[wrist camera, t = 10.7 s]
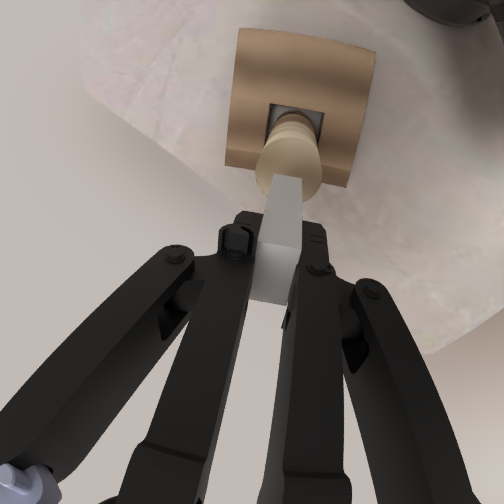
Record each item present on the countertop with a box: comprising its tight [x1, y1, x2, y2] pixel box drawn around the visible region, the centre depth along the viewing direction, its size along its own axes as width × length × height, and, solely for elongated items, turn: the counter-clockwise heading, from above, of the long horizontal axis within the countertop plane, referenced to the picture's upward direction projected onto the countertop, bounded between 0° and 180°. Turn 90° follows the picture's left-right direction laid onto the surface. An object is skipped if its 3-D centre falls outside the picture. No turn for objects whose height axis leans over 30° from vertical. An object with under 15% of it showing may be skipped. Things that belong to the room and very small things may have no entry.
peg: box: [255, 110, 322, 202], centre depth 25 cm, size 4×4×16 cm
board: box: [225, 28, 376, 188], centre depth 29 cm, size 16×14×3 cm
